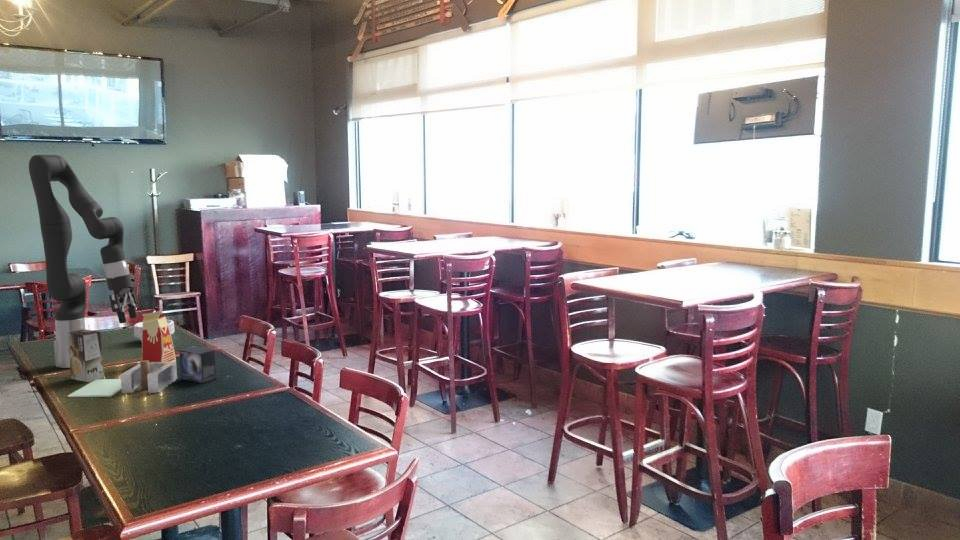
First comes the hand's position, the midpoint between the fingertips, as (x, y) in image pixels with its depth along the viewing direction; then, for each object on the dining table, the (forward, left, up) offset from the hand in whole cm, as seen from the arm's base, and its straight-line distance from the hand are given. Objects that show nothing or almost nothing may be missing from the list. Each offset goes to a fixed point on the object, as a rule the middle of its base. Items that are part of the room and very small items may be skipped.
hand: (128, 320), depth 245 cm
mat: (0, -22, -18) cm, 28 cm away
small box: (+27, -13, -18) cm, 35 cm away
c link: (+14, -19, -18) cm, 30 cm away
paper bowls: (-11, +45, -18) cm, 50 cm away
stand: (+14, -23, -18) cm, 32 cm away
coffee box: (-11, -10, -18) cm, 23 cm away
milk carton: (+5, +8, -18) cm, 21 cm away
